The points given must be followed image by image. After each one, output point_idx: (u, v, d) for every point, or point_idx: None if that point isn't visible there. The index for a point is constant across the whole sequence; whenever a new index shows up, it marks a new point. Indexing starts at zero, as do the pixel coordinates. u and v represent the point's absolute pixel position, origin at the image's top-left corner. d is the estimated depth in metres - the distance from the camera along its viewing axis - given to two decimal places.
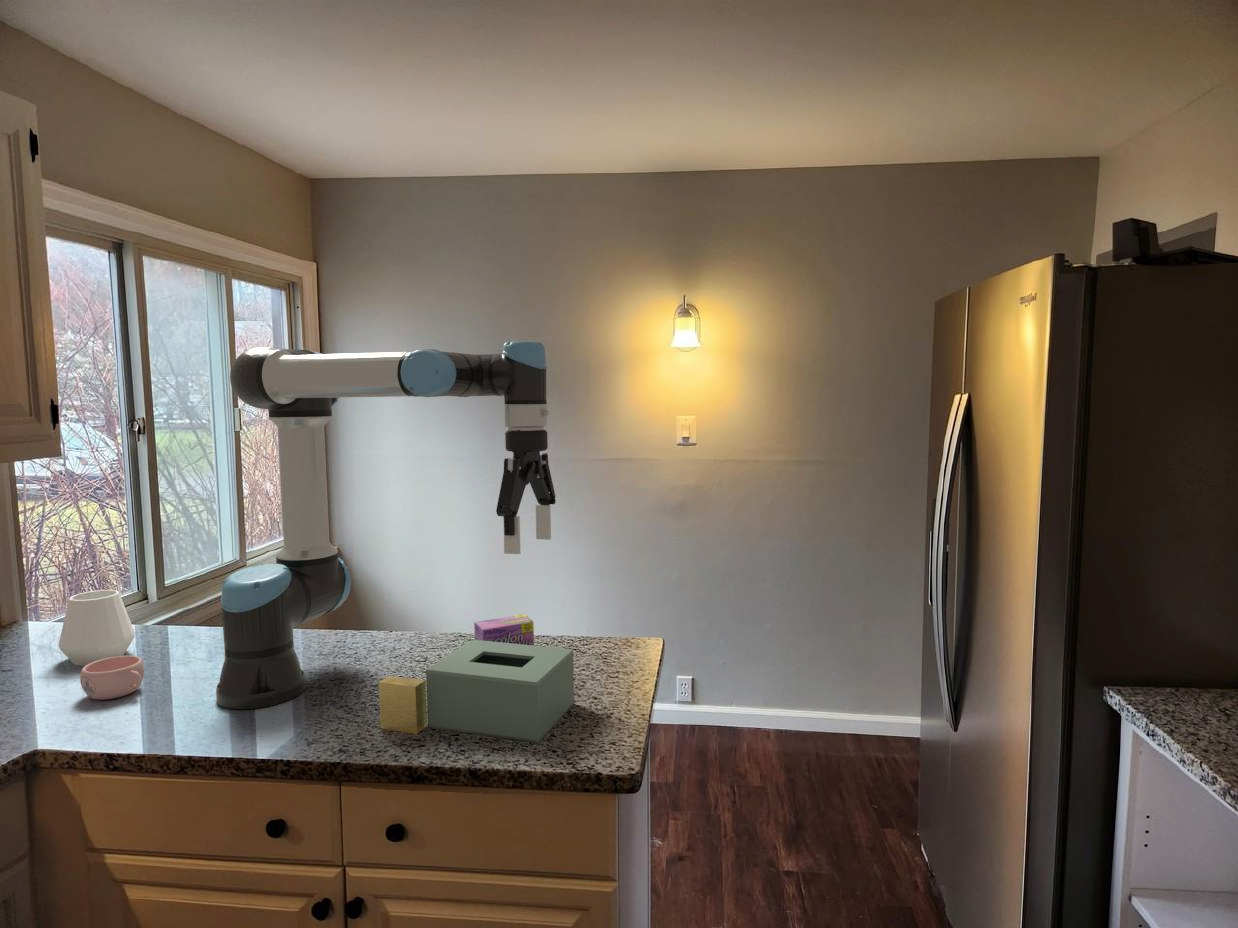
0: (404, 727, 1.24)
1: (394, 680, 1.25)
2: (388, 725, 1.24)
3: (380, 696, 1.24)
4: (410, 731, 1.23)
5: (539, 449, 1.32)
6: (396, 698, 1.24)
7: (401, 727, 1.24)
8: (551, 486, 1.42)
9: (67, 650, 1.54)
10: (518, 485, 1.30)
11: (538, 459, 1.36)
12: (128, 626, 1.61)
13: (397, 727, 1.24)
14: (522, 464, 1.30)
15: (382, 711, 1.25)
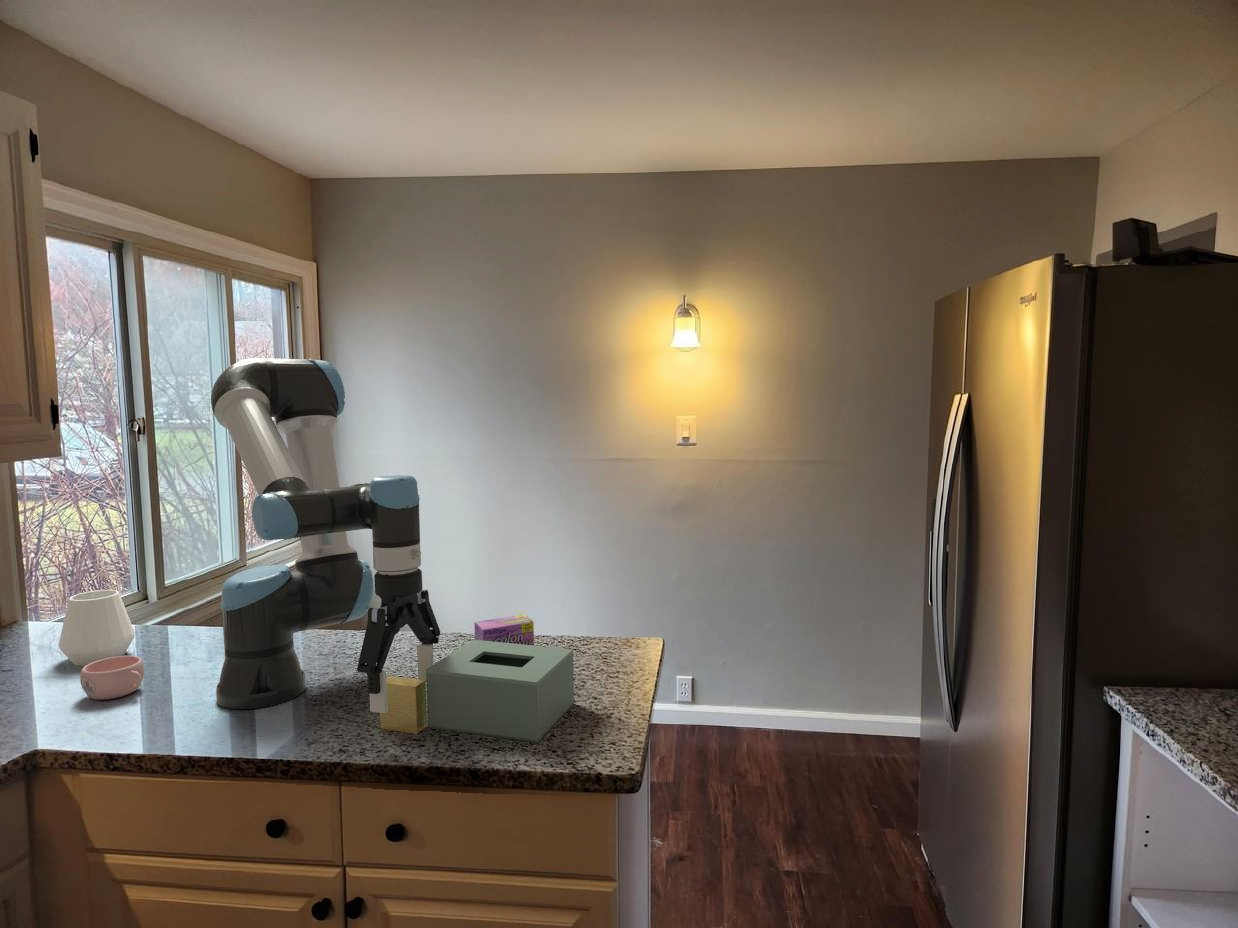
0: (404, 727, 1.24)
1: (394, 680, 1.25)
2: (388, 725, 1.24)
3: None
4: (410, 731, 1.23)
5: (410, 594, 1.21)
6: (396, 698, 1.24)
7: (401, 727, 1.24)
8: (434, 623, 1.31)
9: (67, 650, 1.54)
10: (385, 635, 1.19)
11: (414, 600, 1.26)
12: (128, 626, 1.61)
13: (397, 727, 1.24)
14: (390, 612, 1.19)
15: None
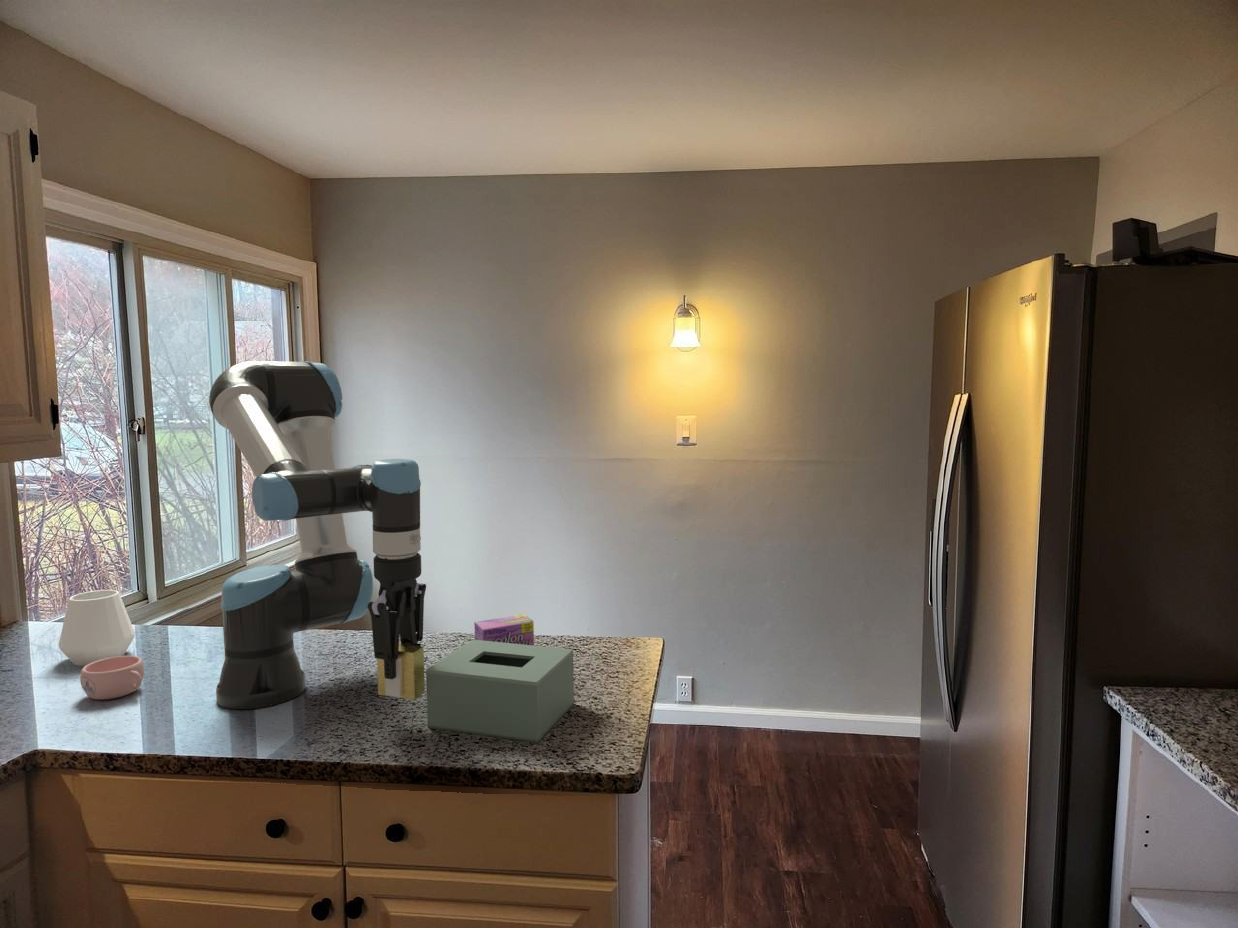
0: (402, 693, 1.24)
1: None
2: None
3: (378, 662, 1.24)
4: (408, 697, 1.23)
5: (409, 579, 1.21)
6: None
7: None
8: (420, 624, 1.28)
9: (67, 650, 1.54)
10: (392, 623, 1.21)
11: (412, 584, 1.26)
12: (128, 626, 1.61)
13: None
14: (388, 596, 1.19)
15: (380, 677, 1.25)
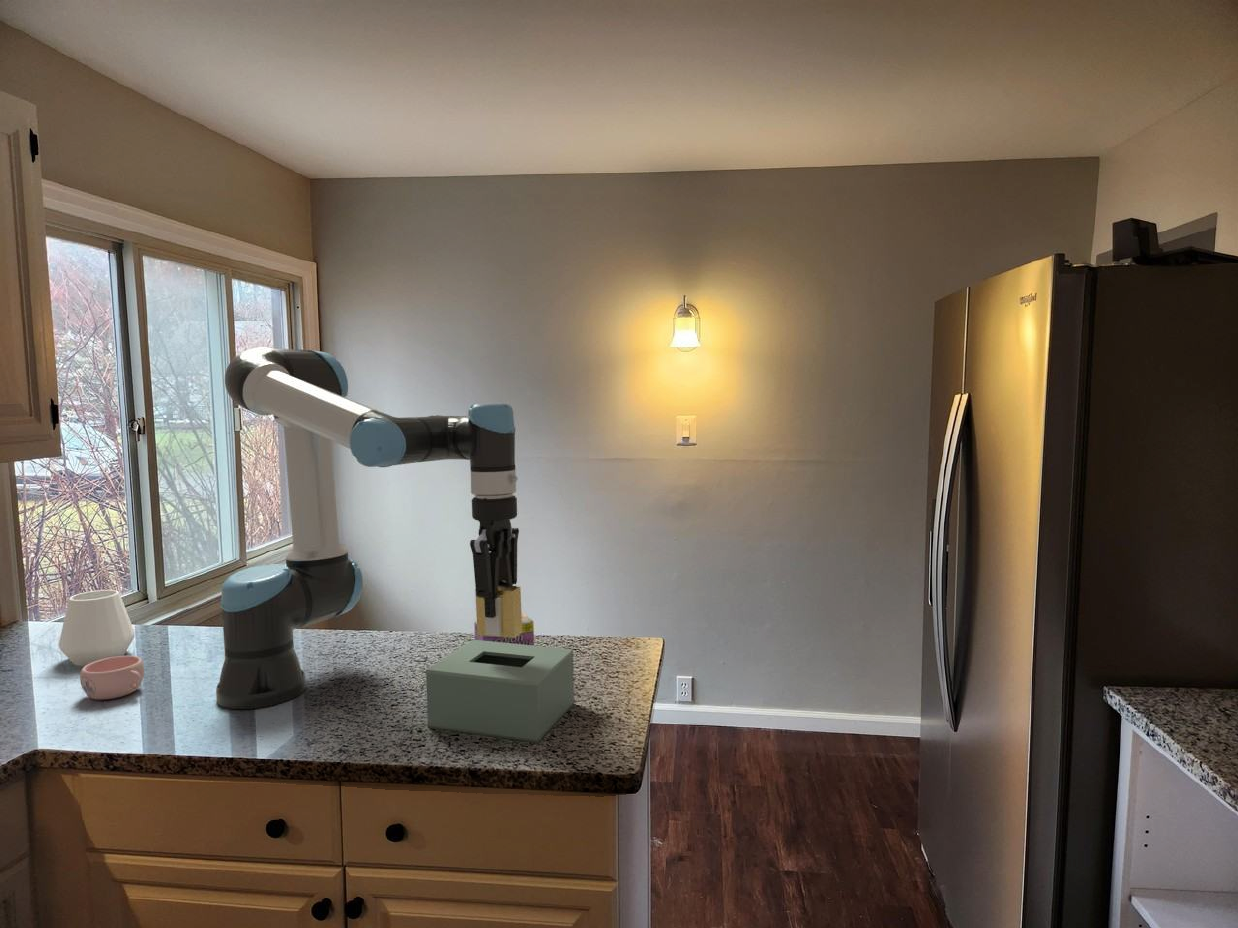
0: (502, 632, 1.26)
1: None
2: None
3: (477, 603, 1.27)
4: (507, 636, 1.26)
5: (507, 518, 1.24)
6: None
7: None
8: (515, 567, 1.31)
9: (67, 650, 1.54)
10: (491, 563, 1.24)
11: (508, 526, 1.28)
12: (128, 626, 1.61)
13: None
14: (489, 535, 1.22)
15: (479, 618, 1.27)
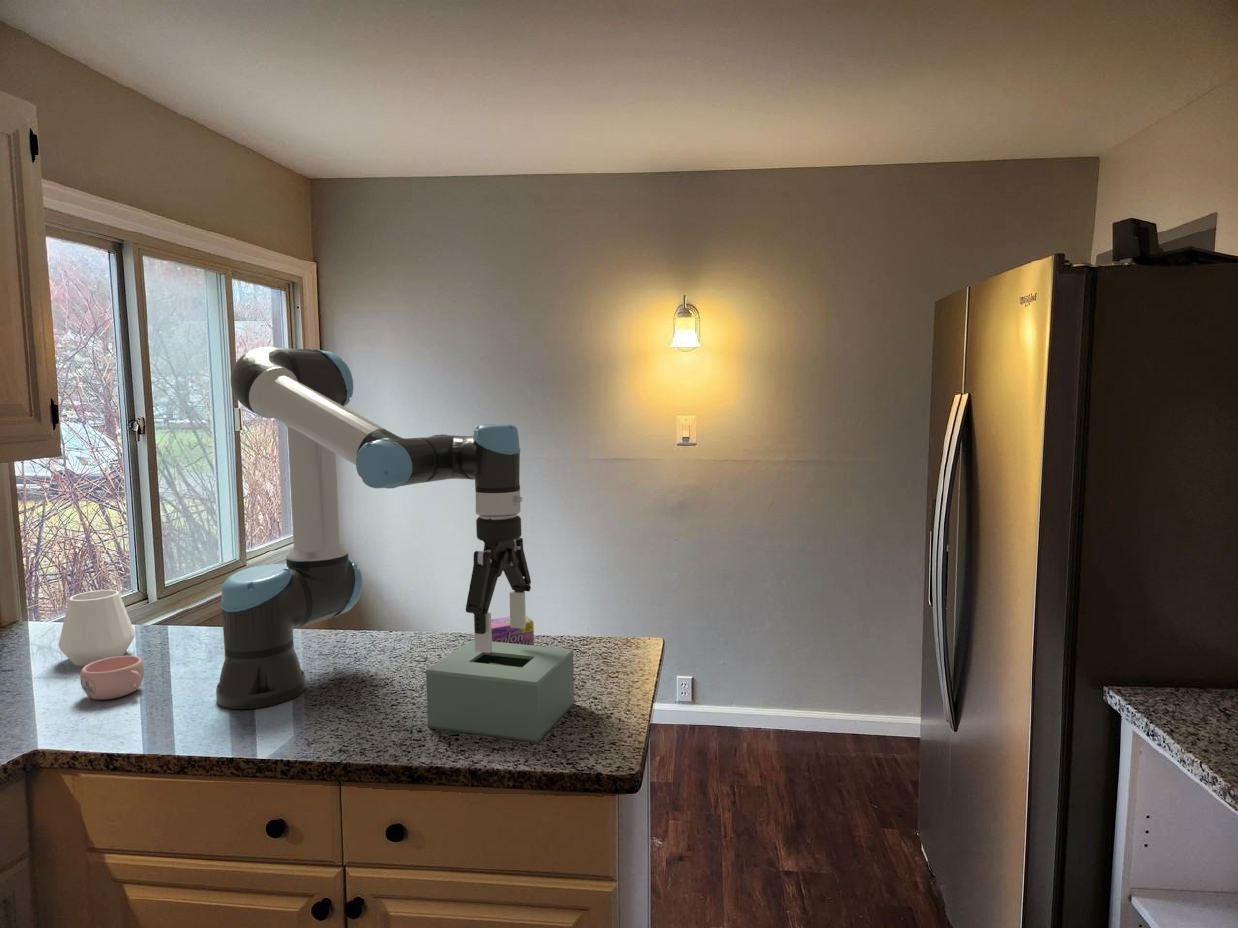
0: None
1: None
2: None
3: None
4: None
5: (512, 538, 1.24)
6: None
7: None
8: (526, 571, 1.35)
9: (67, 650, 1.54)
10: (489, 578, 1.23)
11: (512, 546, 1.29)
12: (128, 626, 1.61)
13: None
14: (493, 555, 1.23)
15: None
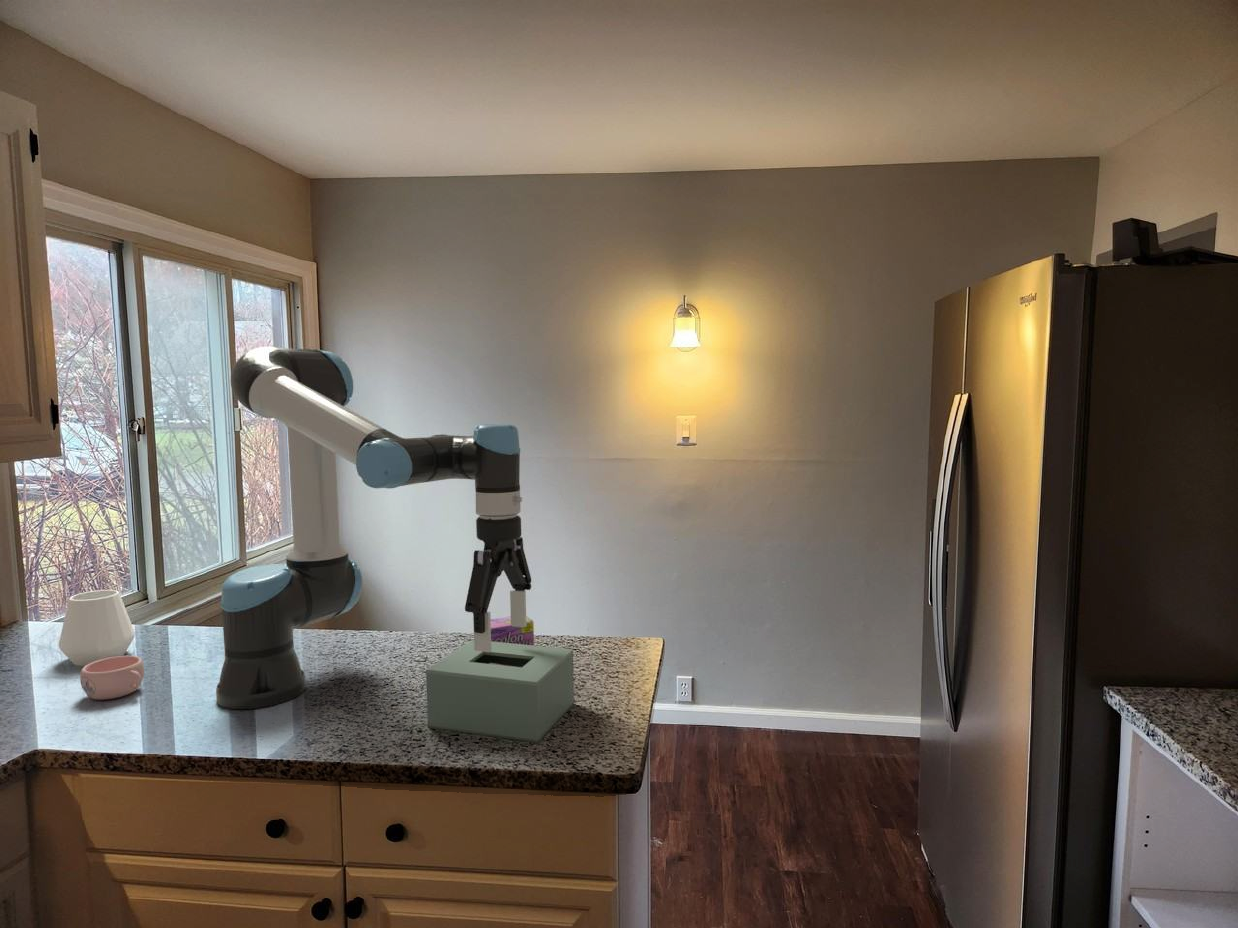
0: None
1: None
2: None
3: None
4: None
5: (512, 538, 1.24)
6: None
7: None
8: (526, 570, 1.35)
9: (67, 650, 1.54)
10: (489, 578, 1.23)
11: (512, 546, 1.29)
12: (128, 626, 1.61)
13: None
14: (493, 555, 1.23)
15: None
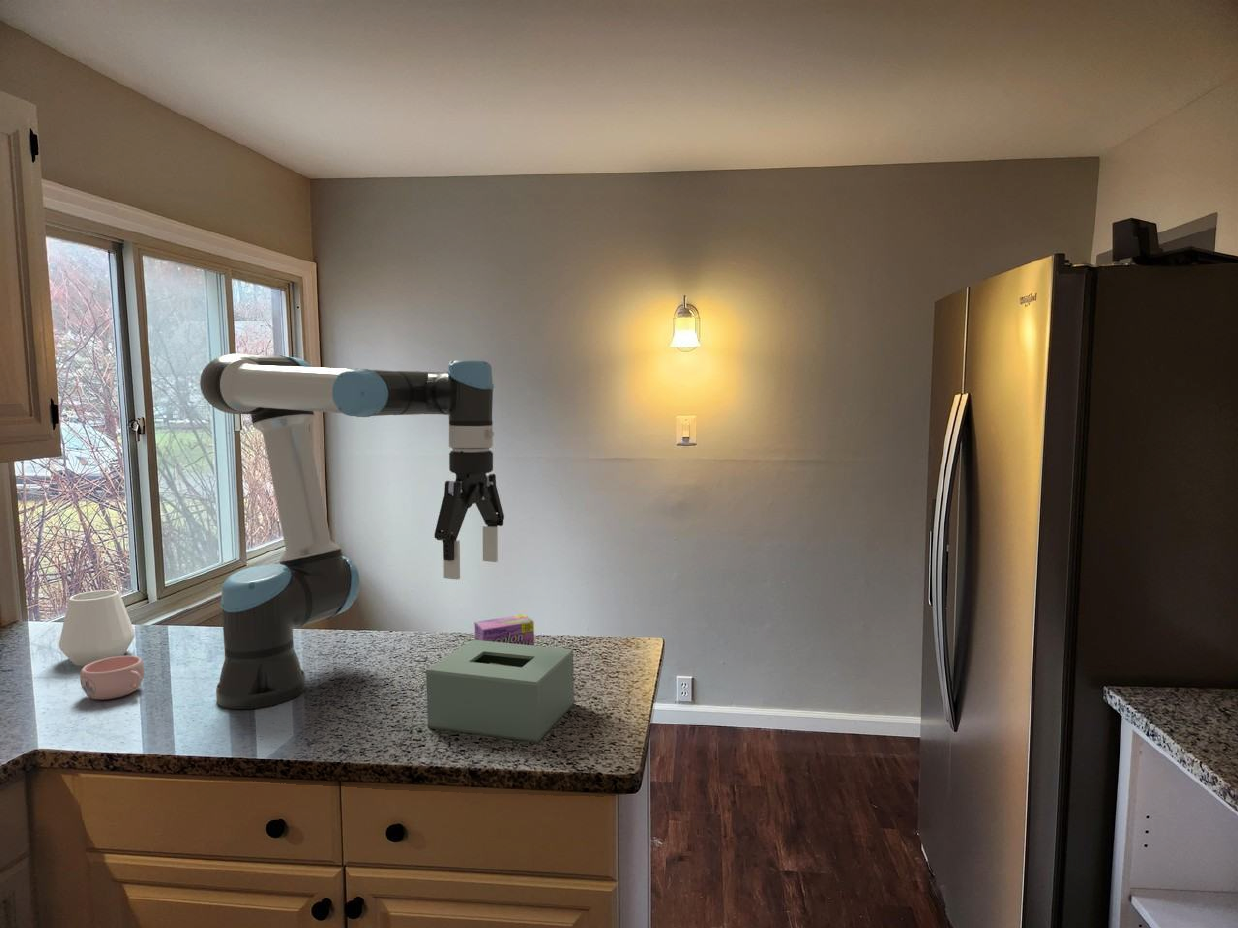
0: None
1: None
2: None
3: None
4: None
5: (483, 471, 1.28)
6: None
7: None
8: (499, 507, 1.39)
9: (67, 650, 1.54)
10: (459, 508, 1.26)
11: (484, 480, 1.33)
12: (128, 626, 1.61)
13: None
14: (464, 487, 1.27)
15: None
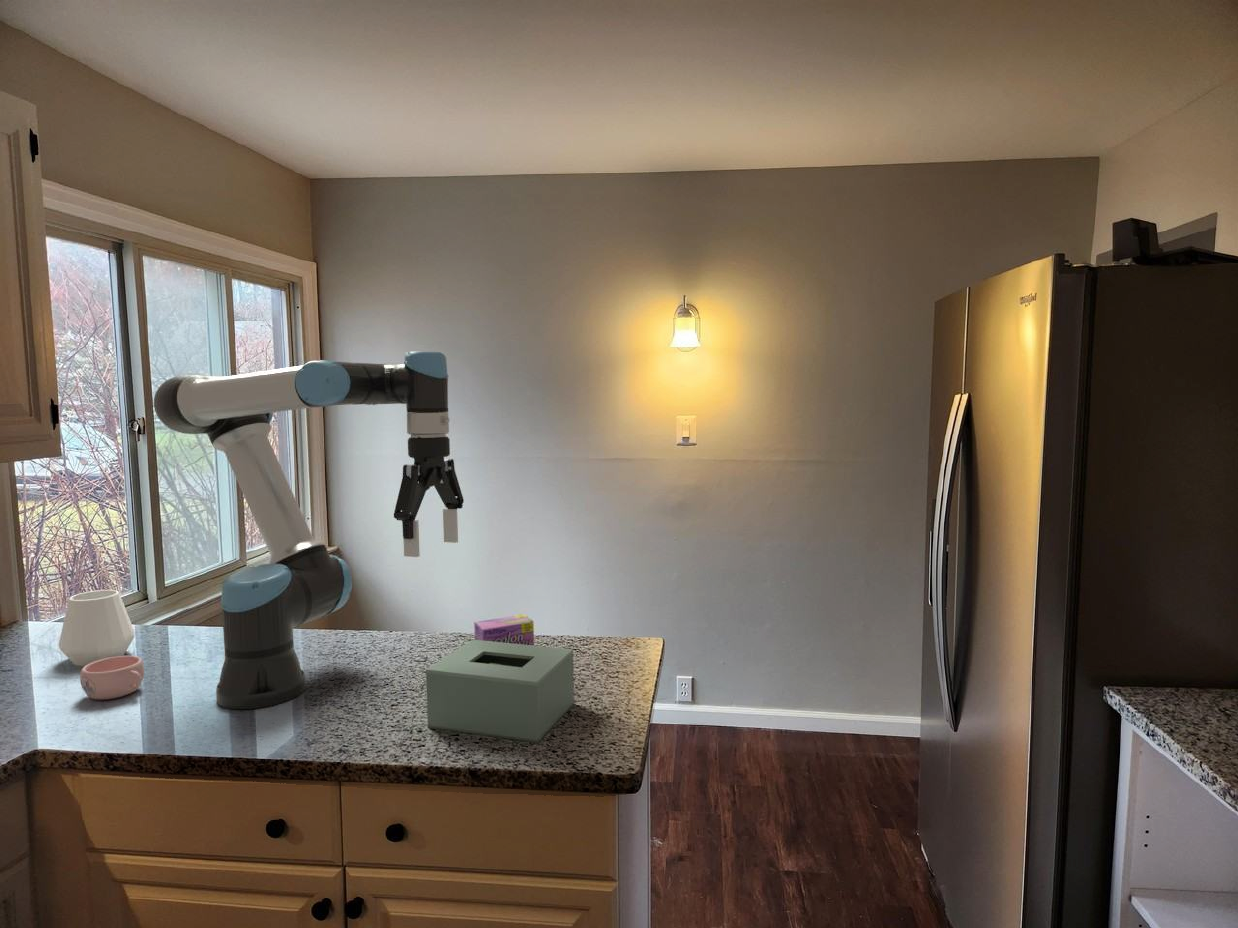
0: None
1: None
2: None
3: None
4: None
5: (439, 455, 1.36)
6: None
7: None
8: (458, 491, 1.47)
9: (67, 650, 1.54)
10: (418, 490, 1.35)
11: (442, 465, 1.41)
12: (128, 626, 1.61)
13: None
14: (422, 470, 1.35)
15: None
